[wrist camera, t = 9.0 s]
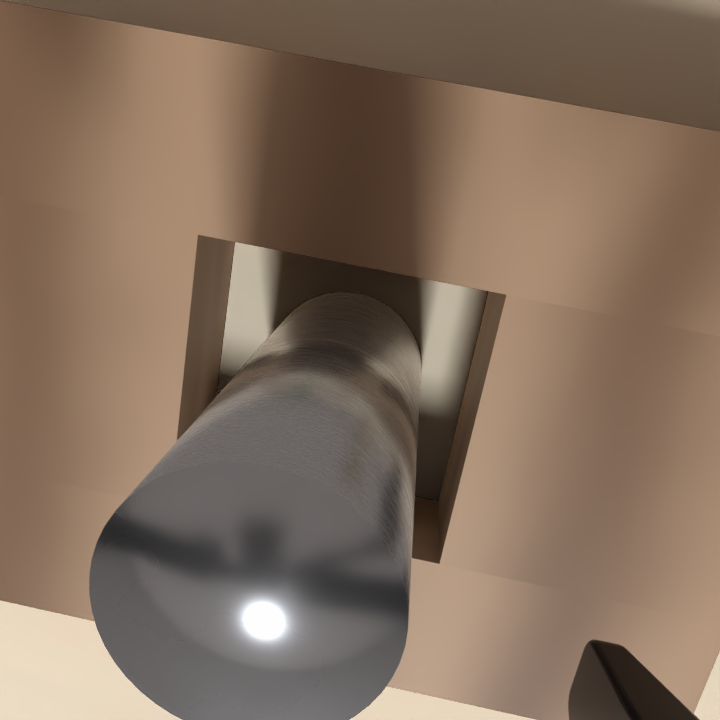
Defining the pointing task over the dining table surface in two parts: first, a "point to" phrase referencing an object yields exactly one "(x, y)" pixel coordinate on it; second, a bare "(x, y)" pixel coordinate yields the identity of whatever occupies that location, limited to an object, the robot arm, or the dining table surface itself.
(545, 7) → the dining table surface
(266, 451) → the long pin
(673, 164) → the board
